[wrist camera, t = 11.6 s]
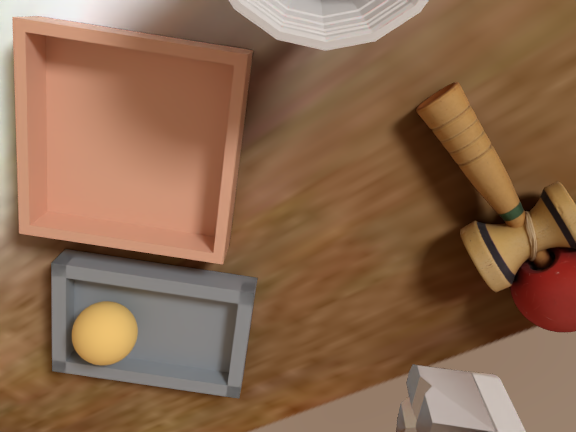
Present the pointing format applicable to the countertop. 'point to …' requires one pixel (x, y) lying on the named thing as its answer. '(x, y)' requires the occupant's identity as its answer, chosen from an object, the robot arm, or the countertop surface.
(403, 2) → the plastic cup
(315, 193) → the countertop surface
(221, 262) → the dish
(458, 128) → the kendama
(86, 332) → the ball
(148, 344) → the tray
